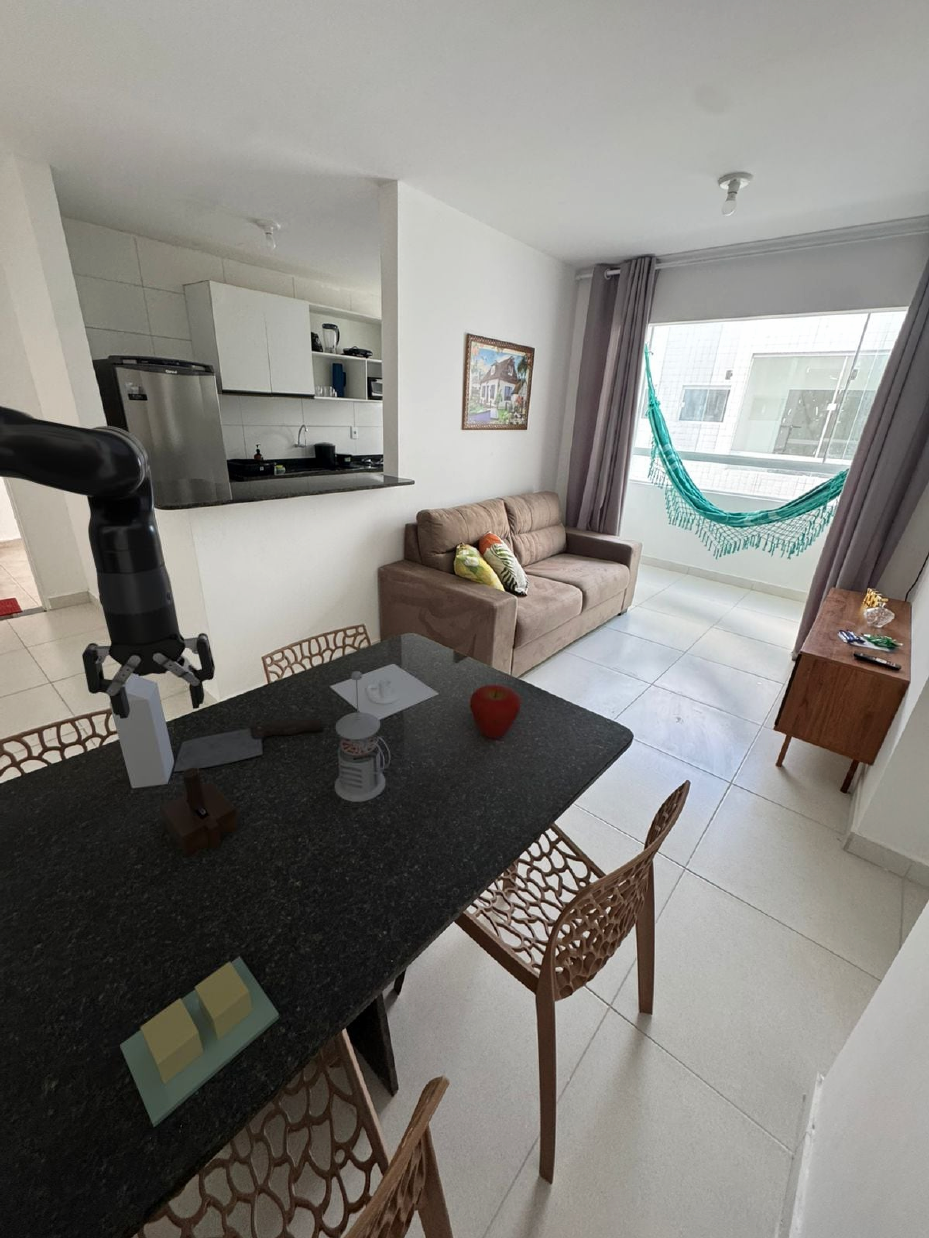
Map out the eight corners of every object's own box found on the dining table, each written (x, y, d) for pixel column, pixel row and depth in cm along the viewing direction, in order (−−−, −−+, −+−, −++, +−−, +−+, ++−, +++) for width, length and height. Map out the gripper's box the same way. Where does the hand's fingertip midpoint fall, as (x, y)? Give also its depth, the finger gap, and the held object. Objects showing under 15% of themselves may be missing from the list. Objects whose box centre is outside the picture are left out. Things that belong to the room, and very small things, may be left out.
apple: (518, 723, 121) (523, 679, 116) (514, 752, 111) (520, 705, 106) (472, 716, 122) (475, 673, 117) (464, 744, 112) (467, 697, 108)
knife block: (190, 863, 81) (186, 842, 79) (161, 821, 88) (156, 801, 87) (243, 832, 87) (239, 812, 85) (211, 796, 94) (208, 777, 93)
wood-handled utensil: (201, 839, 85) (189, 783, 81) (188, 823, 88) (176, 768, 84) (215, 831, 87) (205, 776, 82) (202, 815, 90) (191, 761, 85)
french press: (357, 760, 106) (353, 653, 96) (403, 781, 101) (404, 671, 91) (323, 788, 98) (315, 675, 88) (370, 813, 93) (368, 696, 83)
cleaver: (321, 718, 118) (320, 711, 117) (328, 743, 110) (327, 735, 109) (177, 746, 107) (175, 738, 106) (173, 777, 99) (171, 768, 98)
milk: (132, 789, 95) (103, 687, 86) (141, 767, 100) (115, 670, 91) (168, 784, 97) (144, 684, 88) (175, 763, 102) (153, 667, 93)
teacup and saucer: (360, 693, 129) (359, 679, 127) (386, 683, 134) (386, 669, 132) (380, 709, 123) (379, 694, 121) (406, 698, 128) (406, 684, 126)
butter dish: (154, 1127, 52) (144, 1102, 50) (121, 1048, 58) (111, 1023, 56) (279, 1017, 62) (275, 993, 60) (240, 959, 68) (235, 935, 66)
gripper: (205, 585, 69) (220, 689, 75) (78, 593, 64) (107, 703, 70) (199, 606, 62) (217, 717, 69) (58, 616, 57) (92, 735, 64)
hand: (161, 710), depth 70 cm, fingers open, 8 cm apart
